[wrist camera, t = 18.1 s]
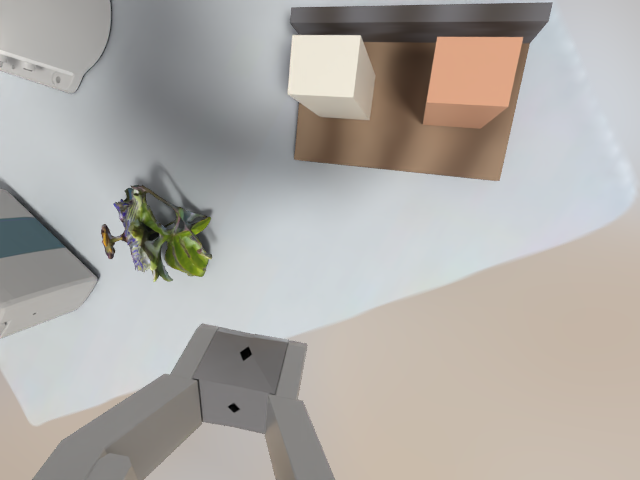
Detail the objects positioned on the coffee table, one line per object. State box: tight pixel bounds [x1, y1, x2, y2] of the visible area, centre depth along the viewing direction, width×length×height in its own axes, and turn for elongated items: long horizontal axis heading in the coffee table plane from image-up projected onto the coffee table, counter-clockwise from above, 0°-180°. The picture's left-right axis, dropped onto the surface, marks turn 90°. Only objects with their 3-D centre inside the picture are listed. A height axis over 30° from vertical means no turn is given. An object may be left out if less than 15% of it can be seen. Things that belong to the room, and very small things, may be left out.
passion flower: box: [101, 185, 212, 282], centre depth 39 cm, size 11×11×12 cm
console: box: [290, 3, 552, 181], centre depth 30 cm, size 20×13×6 cm, turn 84°
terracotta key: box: [423, 37, 523, 129], centre depth 25 cm, size 5×4×9 cm
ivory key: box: [288, 35, 375, 120], centre depth 27 cm, size 5×4×9 cm
